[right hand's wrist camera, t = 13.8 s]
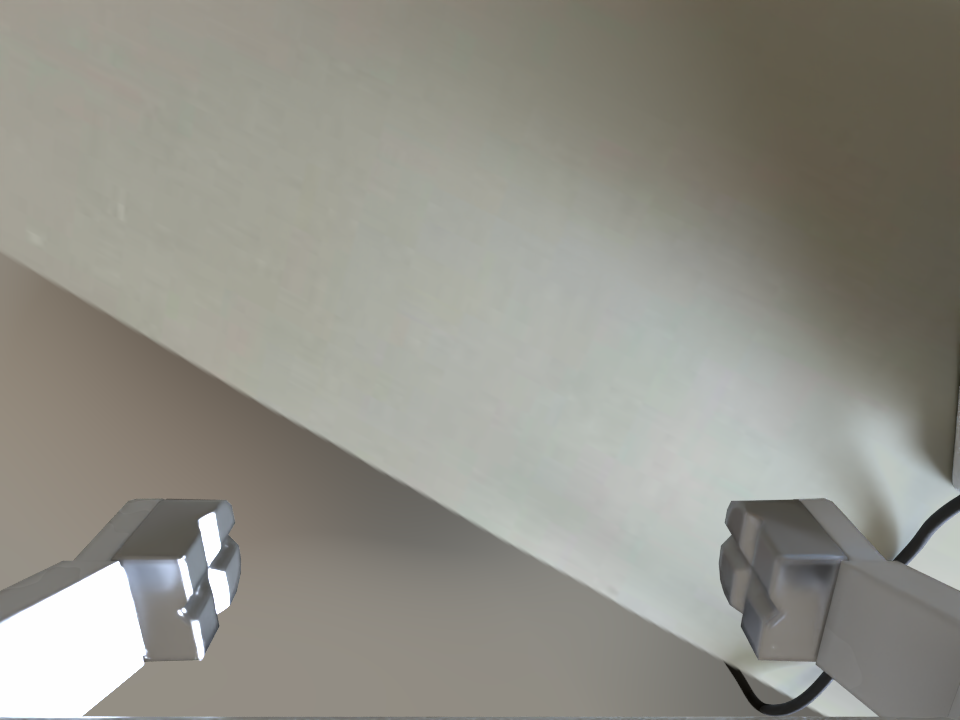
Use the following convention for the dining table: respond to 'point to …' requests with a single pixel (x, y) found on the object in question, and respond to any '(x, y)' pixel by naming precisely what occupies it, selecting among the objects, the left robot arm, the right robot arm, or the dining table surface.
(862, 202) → the dining table surface
